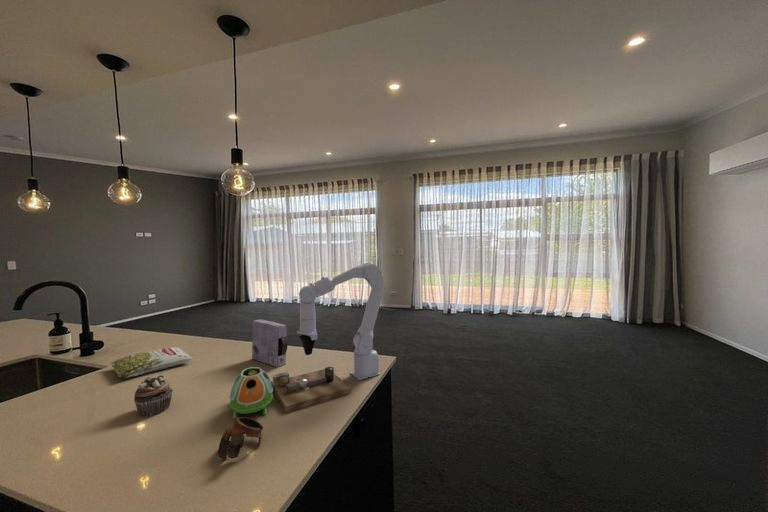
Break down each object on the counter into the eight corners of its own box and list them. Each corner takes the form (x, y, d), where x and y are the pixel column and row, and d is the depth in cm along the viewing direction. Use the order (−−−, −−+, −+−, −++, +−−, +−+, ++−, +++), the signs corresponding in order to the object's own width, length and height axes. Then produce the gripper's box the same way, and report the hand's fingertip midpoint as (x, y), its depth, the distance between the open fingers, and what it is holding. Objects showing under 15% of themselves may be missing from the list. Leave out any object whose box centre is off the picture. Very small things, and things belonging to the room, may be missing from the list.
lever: (331, 377, 111) (331, 365, 111) (335, 380, 108) (335, 369, 108) (286, 389, 102) (285, 376, 102) (289, 393, 99) (288, 380, 99)
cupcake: (130, 421, 88) (129, 388, 87) (139, 406, 96) (138, 375, 96) (170, 413, 92) (169, 381, 92) (175, 399, 101) (174, 369, 100)
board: (328, 373, 120) (328, 360, 120) (350, 393, 103) (350, 378, 103) (271, 387, 108) (270, 373, 108) (285, 412, 91) (285, 396, 91)
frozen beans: (109, 355, 126) (179, 341, 145) (110, 369, 126) (179, 352, 145) (118, 370, 112) (194, 352, 131) (119, 385, 113) (194, 365, 132)
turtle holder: (271, 388, 107) (271, 355, 106) (274, 415, 90) (273, 376, 90) (233, 395, 102) (232, 361, 102) (227, 425, 85) (226, 384, 85)
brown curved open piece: (219, 444, 78) (236, 411, 81) (254, 456, 79) (269, 423, 82) (205, 463, 67) (225, 424, 69) (245, 477, 68) (264, 438, 71)
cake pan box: (288, 364, 130) (288, 324, 129) (279, 368, 126) (278, 326, 125) (261, 356, 140) (260, 318, 140) (251, 359, 136) (250, 321, 135)
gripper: (291, 316, 116) (292, 350, 116) (303, 323, 104) (304, 362, 104) (309, 313, 120) (309, 347, 120) (322, 321, 108) (323, 358, 108)
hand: (308, 354), depth 113 cm, fingers closed
